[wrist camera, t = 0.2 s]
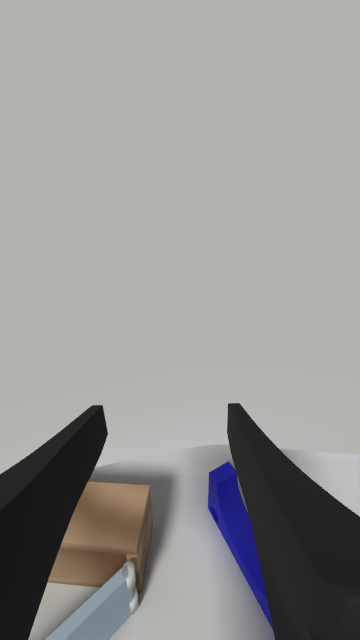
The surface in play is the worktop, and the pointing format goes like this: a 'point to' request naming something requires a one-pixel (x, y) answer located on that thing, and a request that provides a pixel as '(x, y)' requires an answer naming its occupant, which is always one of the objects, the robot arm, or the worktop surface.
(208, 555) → the worktop surface
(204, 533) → the worktop surface
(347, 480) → the worktop surface
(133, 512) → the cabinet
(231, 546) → the cable clip
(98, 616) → the door
